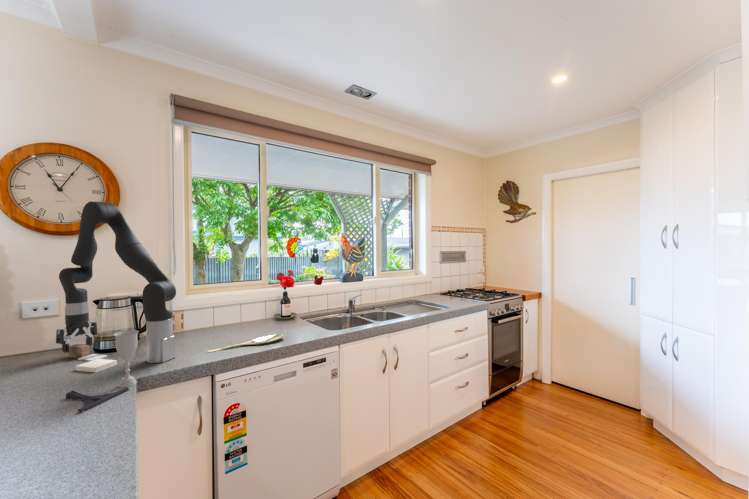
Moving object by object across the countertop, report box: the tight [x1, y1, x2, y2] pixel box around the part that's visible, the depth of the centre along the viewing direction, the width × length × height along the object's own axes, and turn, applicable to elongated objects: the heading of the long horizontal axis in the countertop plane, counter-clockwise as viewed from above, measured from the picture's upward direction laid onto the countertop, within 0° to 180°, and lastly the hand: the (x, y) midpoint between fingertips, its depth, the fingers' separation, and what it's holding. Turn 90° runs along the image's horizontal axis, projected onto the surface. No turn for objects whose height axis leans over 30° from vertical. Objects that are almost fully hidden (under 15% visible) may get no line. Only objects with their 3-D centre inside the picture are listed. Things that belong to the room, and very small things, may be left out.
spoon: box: [206, 333, 284, 353], centre depth 150 cm, size 35×11×2 cm, turn 122°
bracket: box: [65, 386, 130, 413], centre depth 98 cm, size 14×15×3 cm
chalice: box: [113, 329, 140, 388], centre depth 108 cm, size 7×7×18 cm
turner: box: [67, 343, 108, 362], centre depth 135 cm, size 16×6×5 cm, turn 76°
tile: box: [75, 358, 118, 373], centre depth 124 cm, size 2×8×10 cm
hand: (78, 349), depth 137 cm, fingers open, 8 cm apart
